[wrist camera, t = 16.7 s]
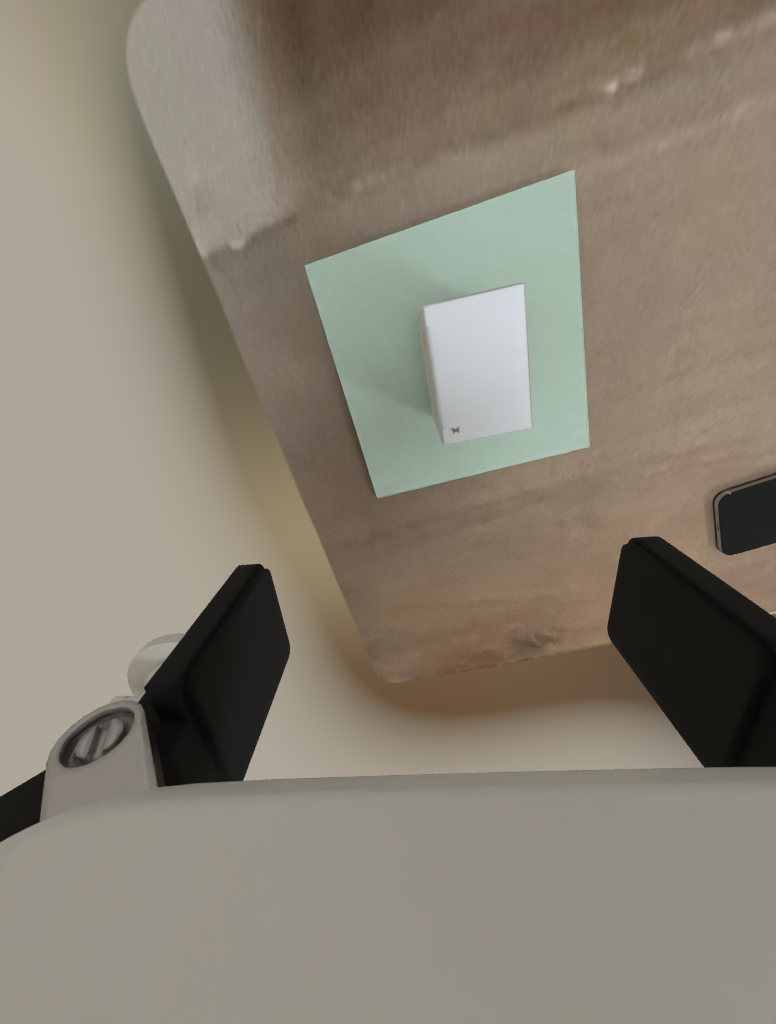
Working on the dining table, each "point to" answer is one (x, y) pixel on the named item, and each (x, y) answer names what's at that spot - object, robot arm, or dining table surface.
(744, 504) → the smartphone
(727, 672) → the robot arm
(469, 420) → the small box
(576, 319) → the mat
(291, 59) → the dining table surface
